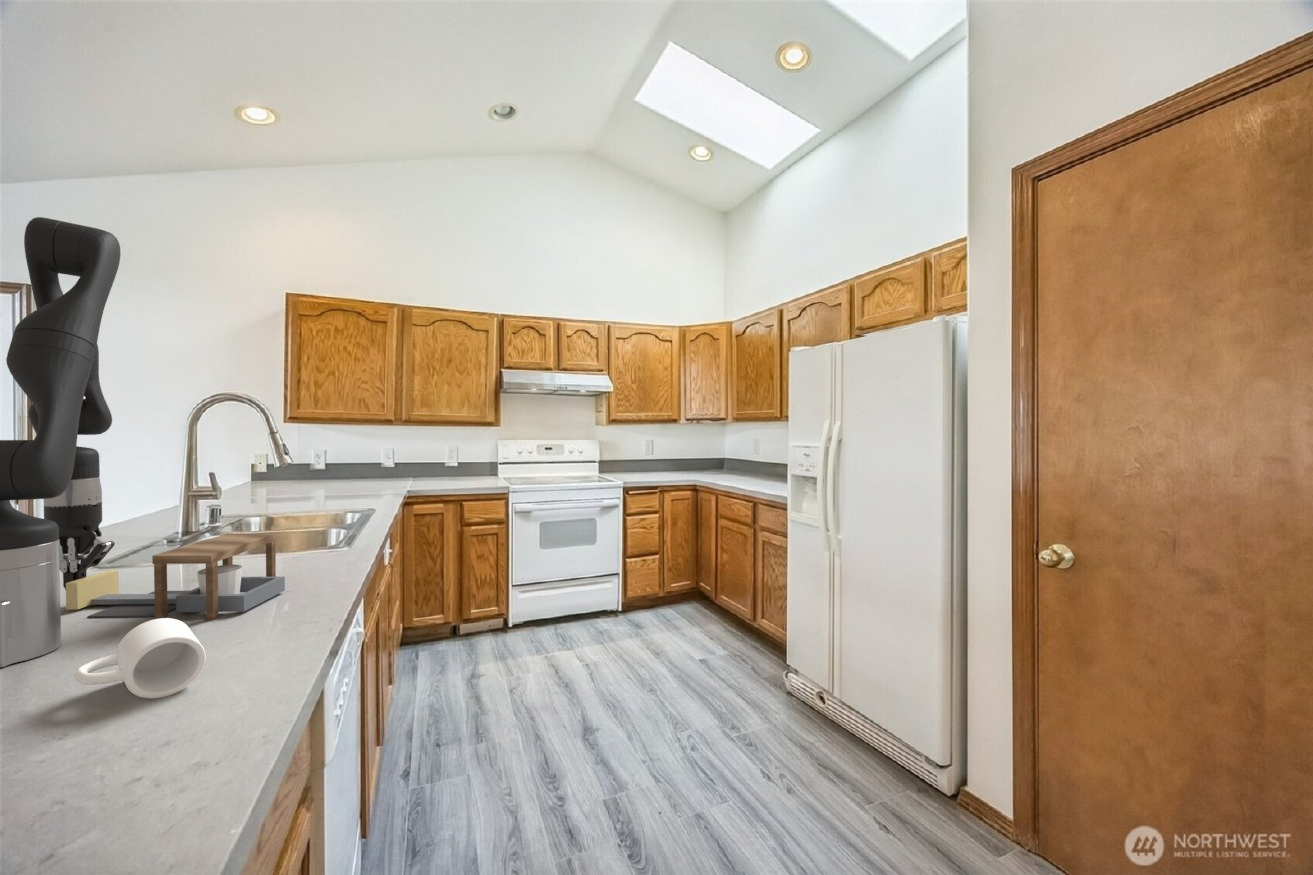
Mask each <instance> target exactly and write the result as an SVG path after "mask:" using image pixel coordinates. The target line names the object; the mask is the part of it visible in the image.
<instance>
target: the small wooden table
mask: <svg viewBox="0 0 1313 875" xmlns="http://www.w3.org/2000/svg"><path fill="white" fill-rule="evenodd" d="M276 541H277V533H225V534H222V535H218V536H215V537H211V538H208V539H204V540H202V541H198V542H194V543H191V544H187V545H184V546H181V547H176V548H174V549H170V550H166V551H163V552H160V553H157V554H154V555H152V562H151V563H152V565H153V573H154V574H153V576H154V578H153V579H154V580H153V581H154V583H153V584H154V586H153V587H154V591H153V592H154V594H155V617H154V619H160V618H169V617H168V613H169V612H168V605H167V591H168V564H169V565H173V564H175V565H176V564H177V565H182V564H184V565H187V564H189V565H190V564H191V565H192V564H193V565H199V564H202V565H203V564H205V568H206V612H205V613H206V614H205V615H206V621H214V620H216V619H217V618H219V612H218V566H219V565H218V562H220V561H221V563H222V564H221V565H234V564H233V563H234V562H233V556H236V555H239V554H242V553H245V552H249V551H251V550H253V549H257V548H259V547H262V546H264V545H265V577H277V576H276V575H277V574H276V573H277V572H276V571H277V569H276V568H277V567H276V565H277V564H276V559H277V558H276V557H277V556H276Z"/></svg>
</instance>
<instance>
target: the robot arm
mask: <svg viewBox="0 0 1313 875" xmlns="http://www.w3.org/2000/svg"><path fill="white" fill-rule="evenodd" d="M23 238H24V240H23V242H24V243H23V245H24V254H25V259H26V265H27V270H28V275H29V280H30V285H31V290H32V294H33V299H34V304H35V307H36V309H35V310H34V311H32V312H31V313H29V314H28V315H26V316H25V317H24V318H22V319H21V320H20V321H19V323H17V324H16V326H15V328H14V331H13V333H12V334H13V335H12V338H11V341H10V343H9V348H8V352H7V356H6V358H5V359H6V365H7V368H8V371H9V373H10V375H11V376H12V378H13V379H14V380H15V382H16V383H17V385H18V386H19V387H20V389H21V390H22V391H23V393H24V394H25V396H26V397H28V399H29V400H30V402H31V405H30V406H29V408H28V412H27V413H28V419H29V422H30V424H31V426H32V428H33V430H34V432H35V434H36V435H35V437H34V439H0V668H4V667H6V666H9V665H11V664H15V663H16V664H17V663H18V662H20V663H21V662H23V661H28V660H32V659H34V658H38V657H41V656H44V655H47V654H49V653H51V652H54V651H55V650H57V649H58V648H60V647H61V646H62V618H61V616H62V614H61V613H62V612H61V610H62V609H61V575H60V573H62V583H63V584H62V586H63V588H64V590H65V591H66V583H68V582H71V581H75V580H78V579H81V578H85V577H87V570H88V569H89V568H93V567H97V566H98V565H99V564H101V562H102V561H103V559H104V558H105V557H106V556H107V555H108V554H109V553H110V551H111V550H112V549H113V548H114V546H115V544H116V543H115V541H113V540H108V541H107V540H106V539H105V538H103V537H102V532H101V530H100V524H101V523H102V521H103V494H102V493H103V491H102V490H103V489H102V484H101V478H100V476H101V474H100V473H101V472H100V453H99V451H98V450H97V449H96V448H92V447H86V446H85V447H83V446H77V445H78V444H77V442H78V436H82V435H83V436H96V435H102V434H103V433H105V432H107V431H108V430H109V429H110V427H111V426H112V423H113V416H112V413H111V410H110V407H109V405H108V403H107V401H106V399H105V396H104V394H103V391H102V387H101V382H100V374H99V373H100V370H99V369H100V368H99V367H100V362H99V361H100V357H99V356H100V355H99V353H100V352H99V350H100V349H99V346H98V338H99V333H100V328H101V323H102V319H103V314H104V310H105V307H106V305H107V301H108V298H109V295H110V293H111V290H112V288H113V284H114V281H115V279H116V276H117V273H118V270H119V267H120V261H121V244H120V242H119V240H118V238H117V237H116V236H115V235H114V234H113V233H111V232H109V231H107V230H103V229H100V228H97V227H92V226H88V225H82V224H77V223H72V222H68V221H62V220H58V219H53V218H48V217H42V216H41V217H40V216H37V217H34V218H32V219H30V220H29V222H28V223H27V224H26V227H25V230H24V237H23ZM59 274H61V275H66V276H67V275H68V276H74V277H79V278H78V280H77V281H76V283H75V284H74V285H73V286H72V287H71V288H70V289H69V290H68V291H66V292H65V293H63V290H62V288H61V287H62V286H61V284H60V279H59ZM84 397H85V398H84ZM26 500H43V518H40V517H36V516H33V515H29V514H27V513H24V512H22V511H20V510H17V509H15V507H14V506H13V505H12V504H11V501H26Z"/></svg>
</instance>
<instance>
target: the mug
mask: <svg viewBox="0 0 1313 875" xmlns="http://www.w3.org/2000/svg"><path fill="white" fill-rule="evenodd" d="M206 653H207V652H206V650H205V648H204V645H202V644H201V642H200V641H199V639H198V638H197V637H196V634H194V632H193V631H192V630H191V628H190V627H189V626H188V624H186V623H185V622H183V621H181V620H179V619H176V618H170V617H168V618H160V619H155V618H154V619H151V620H148V621H145V622H142V623H141V624H139V625H137V626H135V627H134V628H132V629H131V630H130V631H128V633H126V634H125V635H124V636H123V638H122V639H121V640H120V642H119V644H118V646H117V649H116V653H114V654H110V655H106V656H103V657H100V658H97V659H95V660H92V661H90V662H87V663H85V664H83V665H82V666H80V667H78V668H77V669H76V670H75V673H74V679H75V681H76V682H77V683H79V684H81V685H85V686H94V685H106V684H112V683H117V682H121V681H123V682H124V684H125V687H126V688H127V689H128V691H129V692H130V693H131V694H132V695H134V696H137V697H139V698H143V699H150V700H151V699H162V698H165V697H169V696H172V695H175V694H177V693H178V692H181V691H182V690H184V689H186V688H187V687H188V686H190V685H191V684H192V683H193V682H195V680H197V679H198V677H199V675H200V674H201V673H202V671H203V669H204V667H205V665H206V660H207V657H206V655H207V654H206ZM113 666H114V667H115V666H118V667H119V669H114V670H110V671H109V670H108V671H104V672H97V673H96V671H97V670H102V669H105V668H108V667H113ZM94 671H95V672H94ZM92 672H93V673H92Z"/></svg>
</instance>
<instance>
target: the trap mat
mask: <svg viewBox="0 0 1313 875" xmlns="http://www.w3.org/2000/svg"><path fill="white" fill-rule="evenodd" d="M188 591H189V590H167V594H183V593H186V592H188ZM147 594H154V591H151V592H148V593H147ZM167 605H168V613H170V612H172V611H175V610H176V604H167ZM86 618H89V619H92V618H96V619H99V618H101V619H102V618H103V619H105V618H109V619H110V618H111V619H112V618H113V619H114V618H155V604H115V605H113V606H111V607H108V608H105V609H103V610H100V611H98V612H95V613H92V614H90V615H89V614H88V615H87V616H86Z"/></svg>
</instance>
